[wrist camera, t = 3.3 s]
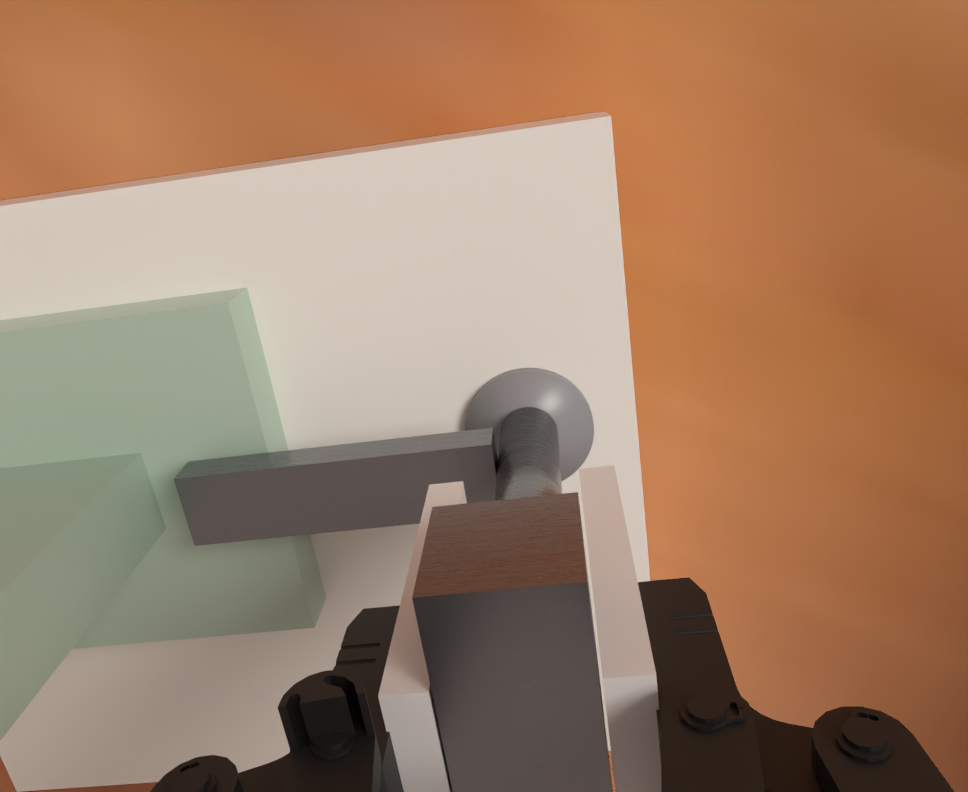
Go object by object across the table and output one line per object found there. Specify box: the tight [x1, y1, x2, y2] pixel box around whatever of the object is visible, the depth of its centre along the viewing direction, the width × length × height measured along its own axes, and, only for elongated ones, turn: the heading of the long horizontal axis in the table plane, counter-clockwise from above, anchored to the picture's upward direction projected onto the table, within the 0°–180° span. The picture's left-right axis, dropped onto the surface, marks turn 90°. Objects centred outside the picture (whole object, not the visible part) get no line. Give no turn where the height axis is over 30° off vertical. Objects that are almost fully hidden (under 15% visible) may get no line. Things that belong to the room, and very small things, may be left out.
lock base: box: [0, 111, 650, 792], centre depth 26 cm, size 23×20×2 cm
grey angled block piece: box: [174, 407, 613, 792], centre depth 18 cm, size 10×6×12 cm, turn 98°
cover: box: [0, 288, 326, 741], centre depth 20 cm, size 12×10×10 cm
